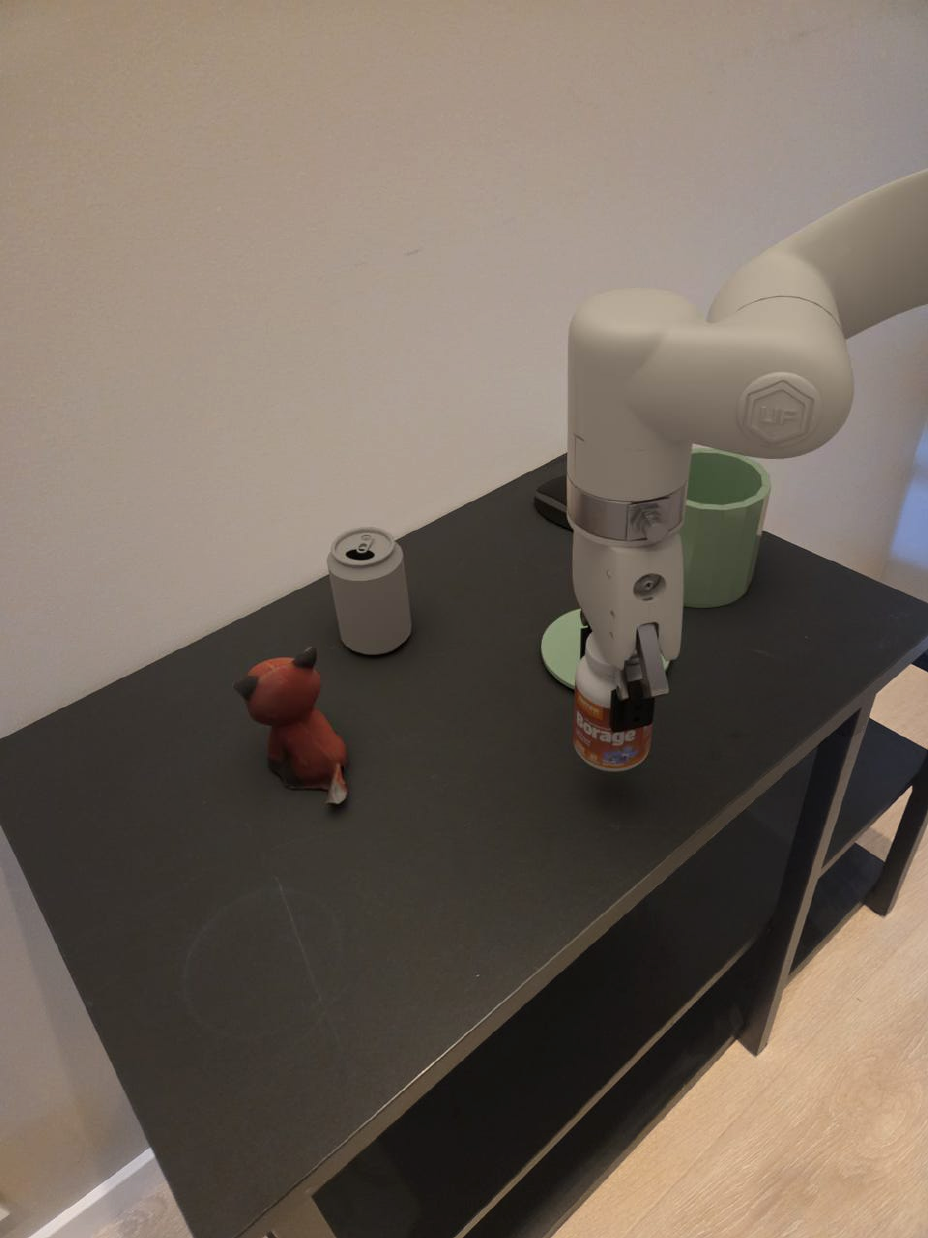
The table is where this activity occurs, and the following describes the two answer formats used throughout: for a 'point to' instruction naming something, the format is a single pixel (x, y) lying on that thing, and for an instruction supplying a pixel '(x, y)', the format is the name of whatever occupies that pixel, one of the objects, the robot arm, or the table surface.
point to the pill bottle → (604, 715)
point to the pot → (722, 526)
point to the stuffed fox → (295, 724)
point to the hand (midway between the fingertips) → (614, 692)
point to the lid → (565, 648)
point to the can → (369, 590)
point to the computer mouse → (553, 500)
